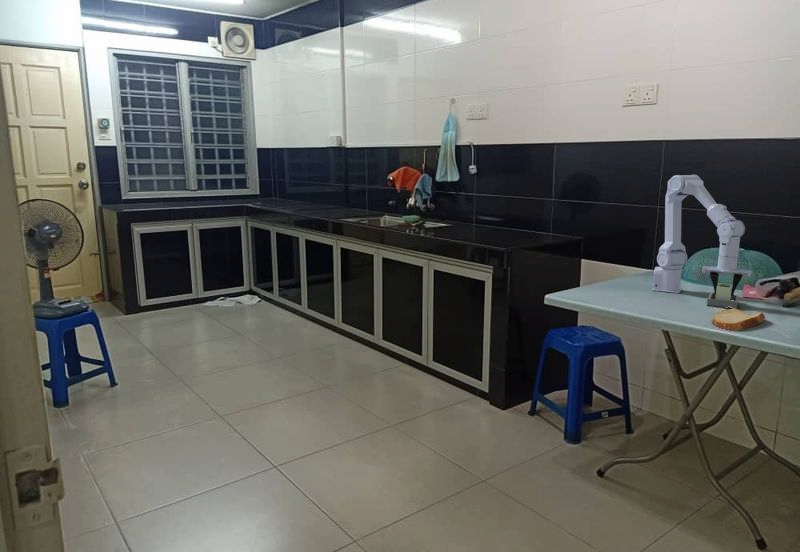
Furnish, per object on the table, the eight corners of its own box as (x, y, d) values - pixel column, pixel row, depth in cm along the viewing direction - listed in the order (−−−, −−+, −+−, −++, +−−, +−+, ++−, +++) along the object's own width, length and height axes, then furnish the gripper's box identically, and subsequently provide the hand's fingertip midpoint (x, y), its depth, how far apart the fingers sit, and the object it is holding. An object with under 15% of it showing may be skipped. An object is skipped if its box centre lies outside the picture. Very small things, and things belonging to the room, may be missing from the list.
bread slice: (722, 331, 164) (723, 319, 163) (696, 315, 182) (697, 304, 181) (786, 333, 162) (788, 321, 162) (754, 316, 180) (755, 305, 179)
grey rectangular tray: (706, 305, 192) (707, 298, 192) (710, 299, 201) (710, 292, 201) (736, 309, 187) (737, 302, 187) (738, 302, 197) (739, 295, 196)
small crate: (715, 300, 192) (716, 286, 191) (716, 296, 198) (718, 283, 197) (729, 302, 190) (731, 288, 189) (731, 298, 195) (732, 284, 194)
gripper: (703, 255, 192) (699, 294, 194) (752, 259, 184) (747, 299, 186) (705, 253, 197) (701, 290, 200) (753, 256, 189) (748, 295, 192)
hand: (723, 294), depth 194 cm, fingers closed on small crate, 4 cm apart
